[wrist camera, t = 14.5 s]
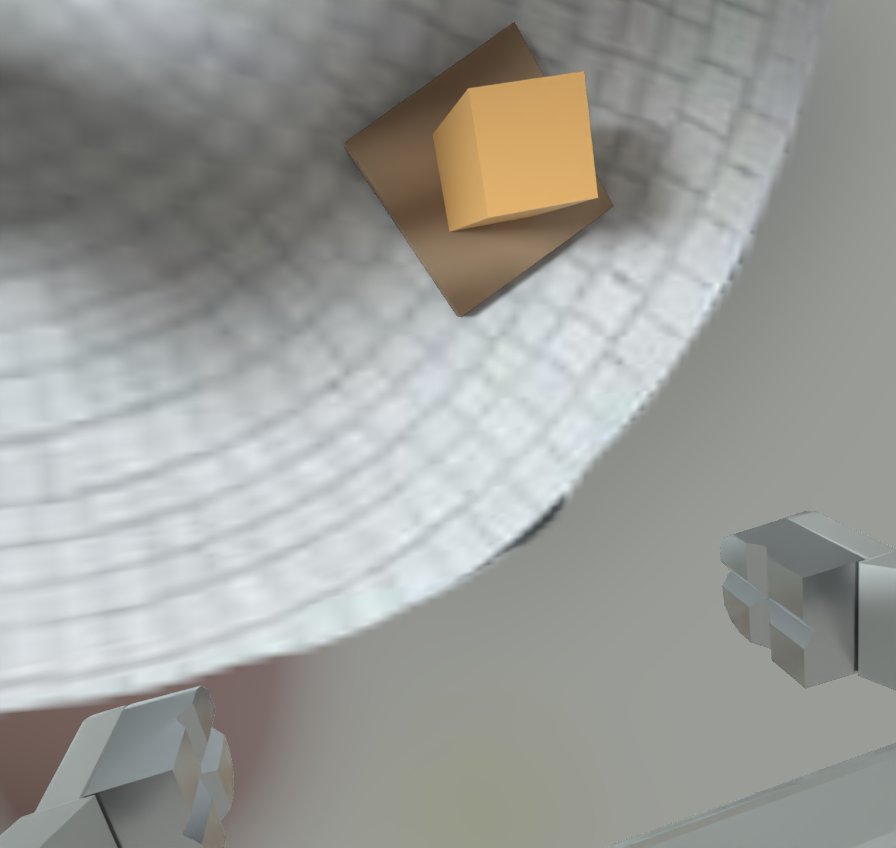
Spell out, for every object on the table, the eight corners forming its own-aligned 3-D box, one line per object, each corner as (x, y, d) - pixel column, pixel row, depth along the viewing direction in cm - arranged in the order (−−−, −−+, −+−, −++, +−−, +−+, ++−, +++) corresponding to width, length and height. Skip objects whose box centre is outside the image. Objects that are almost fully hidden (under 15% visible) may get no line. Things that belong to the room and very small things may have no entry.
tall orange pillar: (449, 231, 37) (488, 217, 28) (432, 134, 35) (468, 88, 27) (534, 216, 38) (598, 197, 29) (521, 120, 36) (584, 71, 28)
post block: (344, 147, 36) (349, 120, 30) (508, 30, 36) (545, -19, 30) (456, 315, 39) (481, 322, 33) (605, 208, 40) (654, 196, 34)
